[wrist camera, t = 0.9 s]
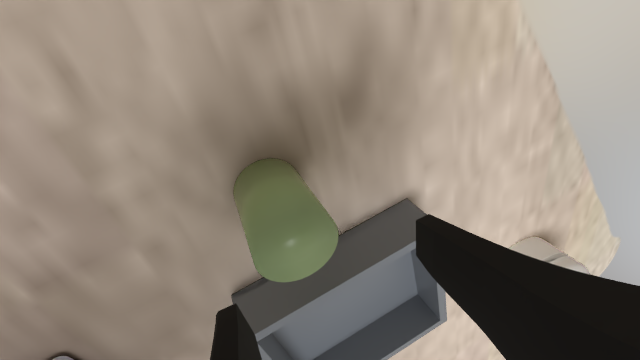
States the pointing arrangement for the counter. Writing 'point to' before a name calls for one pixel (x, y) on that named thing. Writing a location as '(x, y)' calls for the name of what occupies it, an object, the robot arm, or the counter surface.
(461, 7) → the counter surface
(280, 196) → the cucumber chunk
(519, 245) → the honey pot
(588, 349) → the robot arm
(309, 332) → the bin
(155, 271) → the counter surface
